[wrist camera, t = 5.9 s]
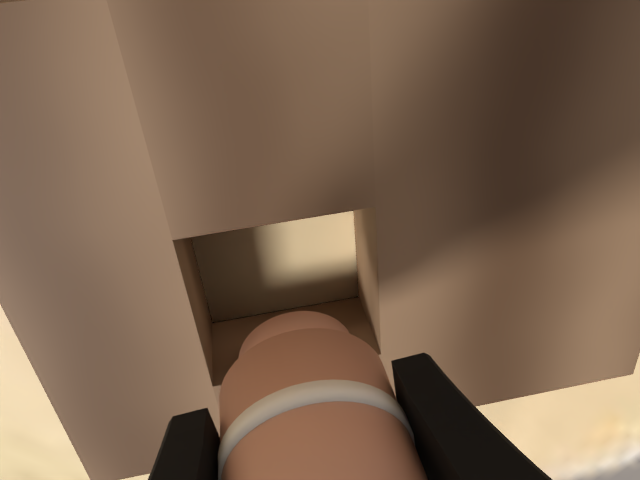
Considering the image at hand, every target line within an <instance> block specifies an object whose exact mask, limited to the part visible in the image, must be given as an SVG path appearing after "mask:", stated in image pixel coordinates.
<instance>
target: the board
mask: <svg viewBox="0 0 640 480" xmlns="http://www.w3.org/2000/svg"><path fill="white" fill-rule="evenodd" d="M348 211H354V226H355V242H356V258H357V275H358V291H359V297H356V298H350V299H345V300H339V301H334V302H328V303H323V304H317V305H312V306H306V307H300V308H295V309H289V310H284V311H278V312H273V313H267V314H261V315H256V316H250V317H245V318H239V319H234V320H228V321H223V322H217V323H212V321H211V317H210V313H209V309H208V305H207V301H206V297H205V293H204V289H203V285H202V281H201V277H200V273H199V269H198V265H197V261H196V257H195V253H194V249H193V246H192V242H191V238H190V237H195V236H201V235H207V234H213V233H219V232H225V231H231V230H238V229H244V228H250V227H256V226H262V225H268V224H274V223H280V222H287V221H293V220H299V219H305V218H311V217H317V216H323V215H329V214H336V213H342V212H348ZM0 304H1V306H2V308H3V310H4V312H5V314H6V316H7V318H8V320H9V322H10V324H11V326H12V328H13V330H14V332H15V334H16V336H17V337H18V339H19V341H20V343H21V345H22V347H23V349H24V351H25V353H26V355H27V357H28V359H29V361H30V363H31V365H32V367H33V369H34V371H35V373H36V375H37V376H38V378H39V380H40V382H41V384H42V386H43V388H44V390H45V392H46V394H47V396H48V398H49V400H50V402H51V404H52V406H53V408H54V410H55V412H56V413H57V415H58V417H59V419H60V421H61V423H62V425H63V427H64V429H65V431H66V433H67V435H68V437H69V439H70V441H71V443H72V445H73V447H74V449H75V451H76V452H77V454H78V456H79V458H80V460H81V462H82V464H83V466H84V468H85V470H86V472H87V474H88V476H89V478H90V480H120V479H125V478H130V477H134V476H139V475H144V474H149V473H151V471H152V468H153V465H154V463H155V460H156V457H157V454H158V452H159V449H160V446H161V443H162V440H163V438H164V435H165V432H166V429H167V426H168V423H169V421H170V420H171V418H172V417H173V416H176V415H180V414H184V413H188V412H192V411H196V410H200V409H203V408H208V410H209V413H210V415H211V417H212V420H213V422H214V425H215V427H216V429H217V432H218V434H219V437H220V414H219V393H220V389H221V385H222V382H223V380H224V377H225V375H226V374H227V372H228V370H229V369H230V368H231V366H232V365H233V364H234V362H235V361H236V360H237V359H238V358H239V352H240V349H241V347H242V344H243V343H244V341H245V339H246V338H247V337H248V335H249V334H250V333H251V332H252V331H253V330H254V329H255V328H256V327H258V326H259V325H260V324H262V323H263V322H265V321H267V320H269V319H271V318H273V317H275V316H278V315H281V314H284V313H289V312H295V311H314V312H319V313H323V314H326V315H329V316H331V317H333V318H335V319H336V320H338V321H339V322H341V323H342V324H343V325H344V326H345V327H346V329H347V330H348V331H349V333H350V334H352V335H354V336H356V337H358V338H360V339H361V340H363V341H364V342H366V343H367V344H368V345H370V346H371V347H372V348H373V349H374V350H375V352H376V353H377V354H378V355H379V357H380V359H381V361H382V363H383V366H384V368H385V371H386V373H387V376H388V378H389V381H390V384H391V386H392V389H393V391H394V394H395V396H396V393H395V386H394V378H393V370H392V363H391V361H392V360H396V359H400V358H404V357H408V356H412V355H416V354H420V353H426V354H428V355H430V356H431V357H432V359H433V360H434V361H435V362H436V364H437V365H438V366H439V367H440V368H441V370H442V371H443V372H444V373H445V374H446V375H447V377H448V378H449V379H450V380H451V381H452V382H453V383H454V384H455V386H456V387H457V388H458V389H459V390H460V391H461V392H462V393H463V394H464V395H465V396H466V397H467V399H468V400H469V401H470V402H471V403H472V404H473V405H474V406H480V405H485V404H490V403H494V402H499V401H504V400H509V399H514V398H519V397H524V396H528V395H533V394H538V393H543V392H548V391H553V390H558V389H563V388H567V387H572V386H577V385H582V384H587V383H592V382H597V381H601V380H606V379H611V378H616V377H621V376H626V375H631V374H633V372H634V369H635V365H636V362H637V359H638V356H639V353H640V0H0Z"/></svg>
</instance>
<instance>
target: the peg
mask: <svg viewBox="0 0 640 480" xmlns="http://www.w3.org/2000/svg"><path fill="white" fill-rule="evenodd" d="M219 414H220V446H219V451H218V480H428V478H427V476H426V473H425V471H424V468H423V466H422V463H421V461H420V458H419V455H418V453H417V450H416V448H415V442H414V434H413V432H412V429H411V427H410V424H409V422H408V419H407V417H406V414H405V412H404V411H403V409H402V407H401V406H400V405H399V403H398V402H397V399H396V396H395V394H394V391H393V389H392V386H391V384H390V381H389V378H388V376H387V373H386V371H385V368H384V366H383V363H382V361H381V359H380V357H379V355H378V354H377V353H376V352H375V350H374V349H373V348H372V347H371V346H370V345H368V344H367V343H366V342H364V341H363V340H361V339H360V338H358V337H356V336H354V335H352V334H350V333H349V331H348V330H347V329H346V327H345V326H344V325H343V324H342V323H341V322H339V321H338V320H336V319H335V318H333V317H331V316H329V315H326V314H323V313H319V312H314V311H295V312H289V313H284V314H281V315H278V316H275V317H273V318H271V319H269V320H267V321H265V322H263V323H262V324H260V325H259V326H258V327H256V328H255V329H254V330H253V331H252V332H251V333H250V334H249V335H248V337H247V338H246V339H245V341H244V343H243V344H242V347H241V349H240V352H239V358H238V359H237V360H236V361H235V362H234V364H233V365H232V366H231V368H230V369H229V370H228V372H227V374H226V375H225V377H224V380H223V382H222V385H221V389H220V393H219Z"/></svg>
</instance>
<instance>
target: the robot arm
mask: <svg viewBox="0 0 640 480" xmlns="http://www.w3.org/2000/svg"><path fill="white" fill-rule="evenodd" d="M391 363H392V370H393V378H394V386H395V393H396V399H397V402H398V403H399V405H400V406H401V407H402V409H403V411H404V412H405V414H406V417H407V419H408V422H409V424H410V427H411V429H412V432H413V434H414V442H415V448H416V450H417V453H418V455H419V458H420V461H421V463H422V466H423V468H424V471H425V473H426V476H427V478H428V480H552V479H551V478H550V477H549V476H547V475H546V474H545V473H544V472H543V471H542V470H541V469H539V468H538V467H537V466H536V465H535V464H534V463H533V462H532V461H531V460H530V459H528V458H527V457H526V456H525V455H524V454H523V453H522V452H521V451H520V450H519V449H518V448H517V447H516V446H515V445H514V444H512V443H511V442H510V441H509V440H508V439H507V438H506V437H505V436H504V435H503V434H502V433H501V432H500V431H499V430H498V429H497V428H496V427H495V426H494V425H493V424H492V423H491V422H490V421H489V420H488V419H487V418H486V417H485V416H484V415H483V414H482V413H481V412H480V411H479V410H478V409H477V408H476V407H475V406H474V405H473V404H472V403H471V402H470V401H469V400H468V399H467V397H466V396H465V395H464V394H463V393H462V392H461V391H460V390H459V389H458V388H457V387H456V386H455V384H454V383H453V382H452V381H451V380H450V379H449V378H448V377H447V375H446V374H445V373H444V372H443V371H442V370H441V368H440V367H439V366H438V365H437V364H436V362H435V361H434V360H433V359H432V357H431V356H430V355H428V354H426V353H420V354H416V355H412V356H408V357H404V358H400V359H396V360H392V361H391ZM219 446H220V437H219V434H218V432H217V429H216V427H215V425H214V422H213V420H212V417H211V415H210V413H209V410H208V408H203V409H200V410H196V411H192V412H188V413H184V414H180V415H176V416H173V417H172V418H171V420H170V421H169V423H168V426H167V429H166V432H165V435H164V438H163V440H162V443H161V446H160V449H159V452H158V454H157V457H156V460H155V463H154V465H153V468H152V471H151V473H150V476H149V478H148V480H218V451H219Z"/></svg>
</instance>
